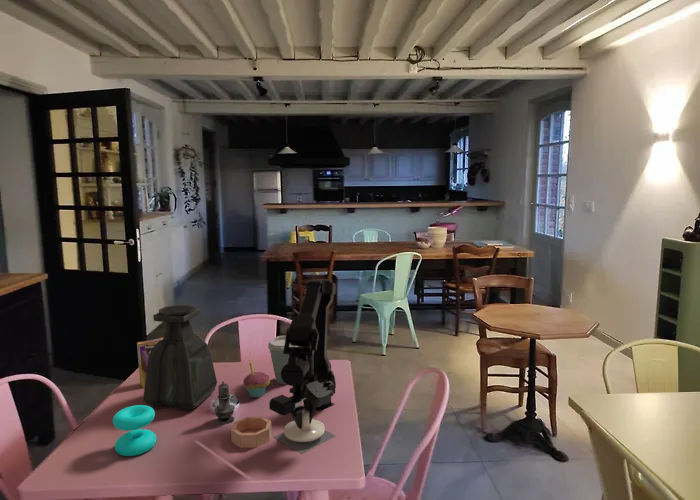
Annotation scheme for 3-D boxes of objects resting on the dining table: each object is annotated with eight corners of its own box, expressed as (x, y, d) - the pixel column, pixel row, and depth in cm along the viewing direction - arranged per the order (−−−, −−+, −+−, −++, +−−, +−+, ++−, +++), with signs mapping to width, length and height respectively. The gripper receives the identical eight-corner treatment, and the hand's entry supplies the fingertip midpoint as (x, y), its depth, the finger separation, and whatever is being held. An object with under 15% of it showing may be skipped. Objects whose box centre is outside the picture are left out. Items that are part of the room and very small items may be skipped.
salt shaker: (229, 426, 136) (228, 385, 135) (210, 424, 137) (208, 384, 136) (238, 416, 142) (237, 377, 140) (220, 414, 143) (218, 376, 142)
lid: (306, 417, 136) (306, 399, 136) (333, 430, 129) (333, 411, 128) (275, 431, 128) (274, 413, 128) (302, 446, 121) (301, 426, 120)
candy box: (165, 378, 171) (163, 336, 170) (169, 381, 168) (167, 339, 166) (139, 384, 166) (136, 341, 164) (142, 388, 163) (139, 345, 161)
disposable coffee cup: (297, 386, 163) (296, 344, 161) (266, 387, 163) (264, 344, 161) (301, 374, 173) (300, 334, 171) (271, 374, 173) (270, 334, 171)
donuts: (139, 400, 131) (162, 408, 126) (141, 434, 132) (164, 444, 127) (104, 414, 122) (127, 424, 117) (107, 451, 124) (130, 462, 118)
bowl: (256, 426, 136) (256, 413, 135) (278, 439, 129) (277, 425, 128) (225, 440, 129) (224, 426, 128) (247, 454, 122) (246, 439, 121)
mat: (306, 423, 137) (306, 421, 137) (336, 437, 129) (336, 435, 129) (273, 439, 129) (273, 437, 129) (302, 455, 121) (302, 453, 120)
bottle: (219, 391, 160) (215, 303, 156) (195, 414, 144) (190, 317, 140) (170, 387, 163) (165, 301, 159) (141, 409, 147) (134, 314, 143)
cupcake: (247, 401, 152) (246, 365, 150) (240, 391, 159) (239, 357, 158) (273, 396, 156) (272, 360, 154) (265, 386, 163) (264, 352, 162)
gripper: (295, 389, 114) (296, 451, 116) (349, 368, 128) (349, 423, 130) (267, 377, 122) (269, 435, 124) (320, 358, 135) (321, 410, 137)
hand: (304, 426), depth 128 cm, fingers closed on lid, 3 cm apart
